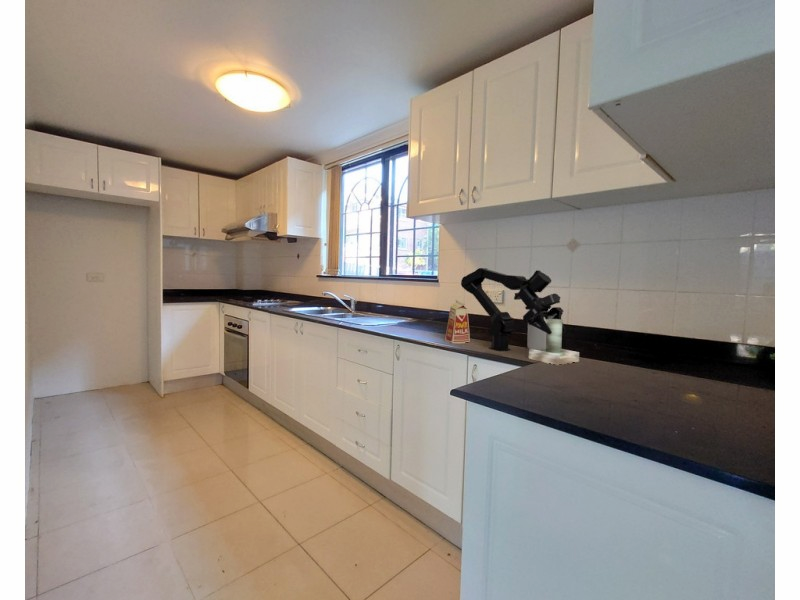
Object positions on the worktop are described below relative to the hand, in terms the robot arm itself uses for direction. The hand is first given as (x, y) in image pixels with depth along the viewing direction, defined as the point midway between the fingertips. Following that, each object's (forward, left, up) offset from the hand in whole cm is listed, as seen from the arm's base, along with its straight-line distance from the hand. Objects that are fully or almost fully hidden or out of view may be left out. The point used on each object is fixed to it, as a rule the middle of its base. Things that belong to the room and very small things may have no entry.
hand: (557, 332), depth 124 cm
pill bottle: (-19, +13, -11) cm, 26 cm away
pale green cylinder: (-2, 0, -8) cm, 8 cm away
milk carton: (-47, -8, -11) cm, 49 cm away
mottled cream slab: (-1, 0, -10) cm, 10 cm away
